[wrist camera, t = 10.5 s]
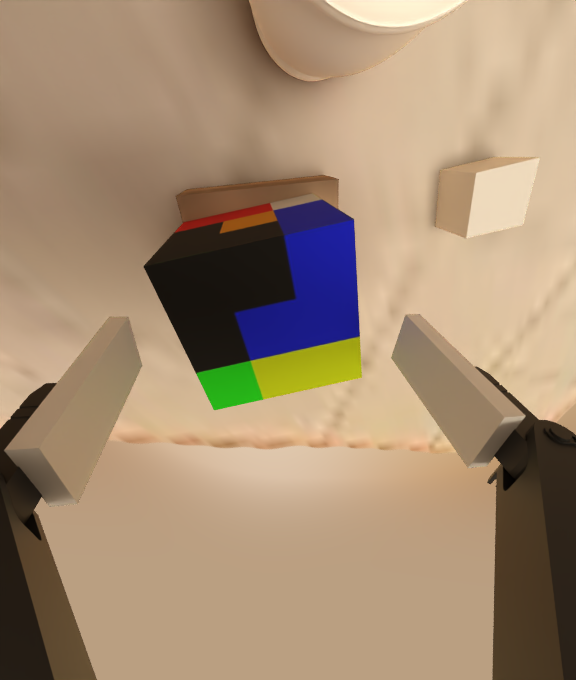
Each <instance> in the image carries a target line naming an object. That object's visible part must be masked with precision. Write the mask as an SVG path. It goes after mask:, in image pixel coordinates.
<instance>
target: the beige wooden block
mask: <svg viewBox="0 0 576 680" xmlns="http://www.w3.org/2000/svg"><path fill="white" fill-rule="evenodd" d="M539 160H540V157H492V158H488V159H484V160H480V161H475V162H471V163H467V164H463V165H459V166H455V167H451V168H446V169H442V170H440V177H439V188H438V199H437V211H436V222H435V227H438V228H440V229H443V230H446V231H448V232H451V233H453V234H456V235H459V236H461V237H464V238H470V237H474V236H479V235H483V234H487V233H491V232H495V231H499V230H504V229H508V228H512V227H516V226H520V225H523V223H524V219H525V215H526V211H527V207H528V204H529V200H530V196H531V192H532V188H533V184H534V180H535V176H536V172H537V168H538V164H539Z"/></svg>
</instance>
